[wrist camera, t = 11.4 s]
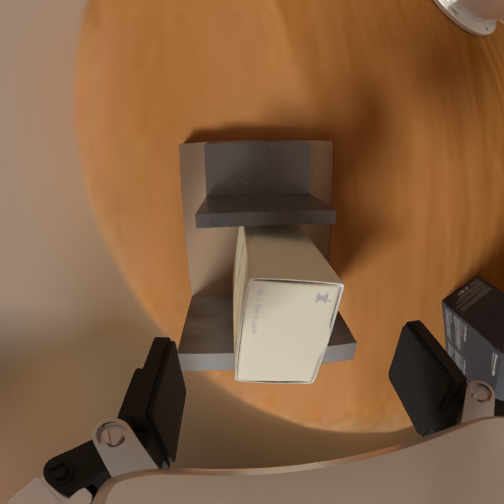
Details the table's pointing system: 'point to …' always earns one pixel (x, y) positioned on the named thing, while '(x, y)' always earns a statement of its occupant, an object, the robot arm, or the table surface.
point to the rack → (223, 258)
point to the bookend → (260, 186)
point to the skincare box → (281, 305)
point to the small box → (477, 332)
